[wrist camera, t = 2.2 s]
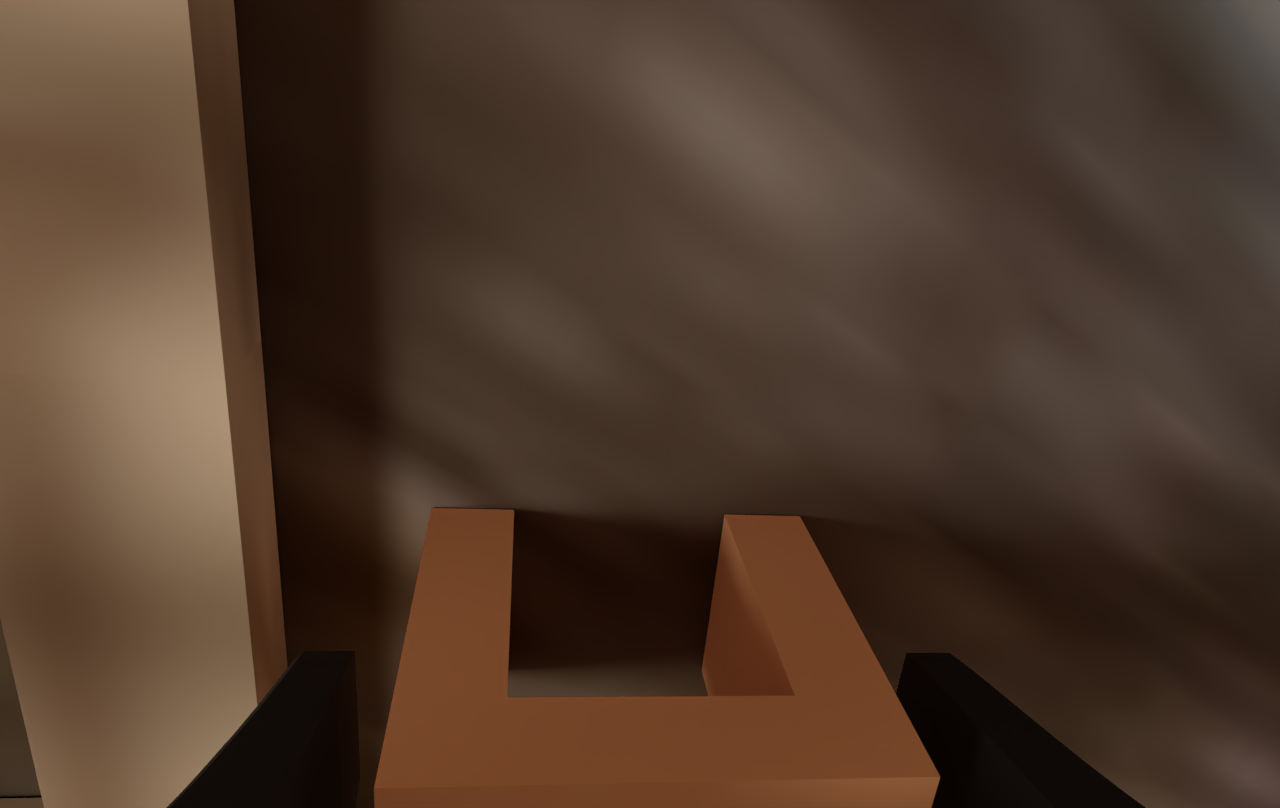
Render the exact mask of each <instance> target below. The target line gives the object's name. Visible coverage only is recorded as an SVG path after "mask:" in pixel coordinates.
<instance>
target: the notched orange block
mask: <svg viewBox="0 0 1280 808" xmlns="http://www.w3.org/2000/svg"><path fill="white" fill-rule="evenodd" d="M513 531H514V510H503V509H458V508H432V509H431V514H430V519H429V524H428V529H427V534H426V538H425V543H424V548H423V553H422V558H421V563H420V567H419V572H418V577H417V582H416V587H415V592H414V597H413V601H412V606H411V611H410V616H409V621H408V626H407V630H406V635H405V640H404V645H403V650H402V655H401V659H400V664H399V669H398V674H397V679H396V684H395V689H394V693H393V698H392V703H391V708H390V713H389V718H388V722H387V727H386V732H385V737H384V742H383V747H382V751H381V756H380V761H379V766H378V771H377V776H376V781H375V785H374V805H375V808H931V807H932V804H933V801H934V797H935V794H936V790H937V787H938V784H939V780H940V775H939V773H938V771H937V770H936V768H935V766H934V764H933V762H932V760H931V758H930V757H929V755H928V753H927V751H926V749H925V747H924V745H923V744H922V742H921V740H920V738H919V736H918V734H917V732H916V731H915V729H914V727H913V725H912V723H911V721H910V719H909V718H908V716H907V714H906V712H905V710H904V708H903V706H902V705H901V703H900V701H899V699H898V697H897V695H896V694H895V692H894V690H893V688H892V686H891V684H890V682H889V681H888V679H887V677H886V675H885V673H884V671H883V669H882V668H881V666H880V664H879V662H878V660H877V658H876V656H875V655H874V653H873V651H872V649H871V647H870V645H869V643H868V642H867V640H866V638H865V636H864V634H863V632H862V630H861V629H860V627H859V625H858V623H857V621H856V619H855V617H854V616H853V614H852V612H851V610H850V608H849V606H848V604H847V603H846V601H845V599H844V597H843V595H842V593H841V592H840V590H839V588H838V586H837V584H836V582H835V580H834V579H833V577H832V575H831V573H830V571H829V569H828V567H827V566H826V564H825V562H824V560H823V558H822V556H821V554H820V553H819V551H818V549H817V547H816V545H815V543H814V541H813V540H812V538H811V536H810V534H809V532H808V530H807V528H806V527H805V525H804V523H803V521H802V519H801V517H800V516H771V515H727V514H724V521H723V528H722V535H721V542H720V549H719V556H718V562H717V569H716V576H715V583H714V590H713V597H712V604H711V610H710V617H709V624H708V631H707V638H706V645H705V652H704V658H703V665H702V674H703V678H704V682H705V685H706V689H707V693H708V696H668V697H514V698H507V692H508V665H509V638H510V611H511V585H512V558H513Z"/></svg>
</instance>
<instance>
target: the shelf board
mask: <svg viewBox="0 0 1280 808" xmlns="http://www.w3.org/2000/svg"><path fill="white" fill-rule="evenodd" d="M0 619H1V623H2V628H3V632H4V636H5V641H6V645H7V649H8V654H9V658H10V662H11V667H12V671H13V675H14V680H15V684H16V688H17V693H18V697H19V701H20V706H21V710H22V714H23V718H24V723H25V727H26V731H27V736H28V740H29V744H30V749H31V753H32V757H33V762H34V766H35V770H36V775H37V779H38V783H39V788H40V792H41V796H42V798H1V799H0V808H167V807H168V806H169V804H170V803H171V802H172V801H173V800H174V799H175V798H176V797H177V796H178V795H179V794H180V793H181V792H182V791H183V790H184V789H185V788H186V787H187V786H188V785H189V784H190V783H191V781H192V780H193V779H194V778H195V777H196V776H197V775H198V774H199V773H200V771H201V770H202V769H203V768H204V767H205V766H206V765H207V764H208V762H209V761H210V760H211V759H212V758H213V757H214V756H215V755H216V753H217V752H218V751H219V750H220V749H221V748H222V747H223V746H224V744H225V743H226V742H227V741H228V740H229V739H230V738H231V737H232V735H233V734H234V733H235V732H236V731H237V730H238V728H239V727H240V726H241V725H242V724H243V722H244V721H245V720H246V719H247V718H248V716H249V715H250V714H251V713H252V712H253V710H254V709H255V708H256V707H257V706H258V704H259V703H260V702H261V701H262V699H263V698H264V697H265V696H266V695H267V693H268V692H269V691H270V690H271V688H272V687H273V686H274V684H275V683H276V682H277V681H278V679H279V678H280V677H281V676H282V674H283V673H284V672H285V670H286V669H287V668H288V666H287V654H286V641H285V629H284V616H283V604H282V592H281V579H280V567H279V554H278V542H277V529H276V517H275V505H274V492H273V480H272V467H271V455H270V442H269V430H268V418H267V405H266V393H265V380H264V368H263V355H262V343H261V331H260V318H259V306H258V293H257V281H256V268H255V256H254V244H253V231H252V219H251V206H250V194H249V181H248V169H247V157H246V144H245V132H244V119H243V107H242V94H241V82H240V70H239V57H238V45H237V32H236V20H235V7H234V0H0Z"/></svg>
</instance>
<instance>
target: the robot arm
mask: <svg viewBox="0 0 1280 808" xmlns="http://www.w3.org/2000/svg"><path fill="white" fill-rule="evenodd" d="M896 695H897V697H898V699H899V701H900V703H901V705H902V706H903V708H904V710H905V712H906V714H907V716H908V718H909V719H910V721H911V723H912V725H913V727H914V729H915V731H916V732H917V734H918V736H919V738H920V740H921V742H922V744H923V745H924V747H925V749H926V751H927V753H928V755H929V757H930V758H931V760H932V762H933V764H934V766H935V768H936V770H937V771H938V773H939V775H940V780H939V784H938V787H937V790H936V794H935V797H934V801H933V804H932V807H931V808H1145V807H1144V806H1142V805H1141V804H1140V803H1138V802H1137V801H1136V800H1134V799H1133V798H1132V797H1130V796H1129V795H1127V794H1126V793H1125V792H1123V791H1122V790H1121V789H1119V788H1118V787H1117V786H1116V785H1114V784H1113V783H1112V782H1110V781H1109V780H1108V779H1106V778H1105V777H1104V776H1102V775H1101V774H1100V773H1099V772H1097V771H1096V770H1095V769H1093V768H1092V767H1091V766H1090V765H1088V764H1087V763H1086V762H1084V761H1083V760H1082V759H1081V758H1079V757H1078V756H1077V755H1076V754H1074V753H1073V752H1072V751H1071V750H1069V749H1068V748H1067V747H1066V746H1064V745H1063V744H1062V743H1061V742H1059V741H1058V740H1057V739H1056V738H1054V737H1053V736H1052V735H1051V734H1050V733H1048V732H1047V731H1046V730H1045V729H1043V728H1042V727H1041V726H1040V725H1039V724H1037V723H1036V722H1035V721H1034V720H1032V719H1031V718H1030V717H1029V716H1028V715H1026V714H1025V713H1024V712H1023V711H1021V710H1020V709H1019V708H1018V707H1017V706H1015V705H1014V704H1013V703H1012V702H1011V701H1009V700H1008V699H1007V698H1006V697H1004V696H1003V695H1002V694H1001V693H1000V692H998V691H997V690H996V689H995V688H993V687H992V686H991V685H990V684H989V683H987V682H986V681H985V680H984V679H982V678H981V677H980V676H979V675H977V674H976V673H975V672H974V671H972V670H971V669H970V668H969V667H967V666H966V665H965V664H963V663H962V662H961V661H959V660H958V659H957V658H955V657H954V656H953V655H951V654H950V653H907V654H906V658H905V661H904V665H903V669H902V673H901V677H900V681H899V685H898V689H897V693H896ZM359 780H360V764H359V741H358V719H357V696H356V673H355V651H303V652H302V653H301V654H300V655H299V656H297V657H296V658H295V659H294V660H293V661H292V663H291V664H290V665H289V667H288V668H287V669H286V670H285V672H284V673H283V674H282V676H281V677H280V678H279V679H278V681H277V682H276V683H275V684H274V686H273V687H272V688H271V690H270V691H269V692H268V693H267V695H266V696H265V697H264V698H263V699H262V701H261V702H260V703H259V704H258V706H257V707H256V708H255V709H254V710H253V712H252V713H251V714H250V715H249V716H248V718H247V719H246V720H245V721H244V722H243V724H242V725H241V726H240V727H239V728H238V730H237V731H236V732H235V733H234V734H233V735H232V737H231V738H230V739H229V740H228V741H227V742H226V743H225V744H224V746H223V747H222V748H221V749H220V750H219V751H218V752H217V753H216V755H215V756H214V757H213V758H212V759H211V760H210V761H209V762H208V764H207V765H206V766H205V767H204V768H203V769H202V770H201V771H200V773H199V774H198V775H197V776H196V777H195V778H194V779H193V780H192V781H191V783H190V784H189V785H188V786H187V787H186V788H185V789H184V790H183V791H182V792H181V793H180V794H179V795H178V796H177V797H176V798H175V799H174V800H173V801H172V802H171V803H170V804H169V806H168V807H167V808H355V803H356V797H357V791H358V786H359Z"/></svg>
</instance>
